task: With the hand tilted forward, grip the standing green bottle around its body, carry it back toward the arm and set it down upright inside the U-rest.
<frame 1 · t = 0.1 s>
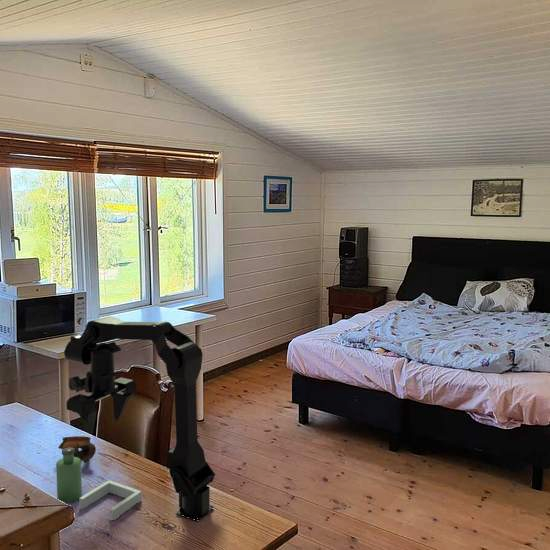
hand: (103, 426, 141), 15 cm above the table, tool pointing down, fingers open, 9 cm apart
u rest: (109, 505, 132), on the table
pottery mug: (78, 462, 153), on the table
bottle: (69, 496, 135), on the table
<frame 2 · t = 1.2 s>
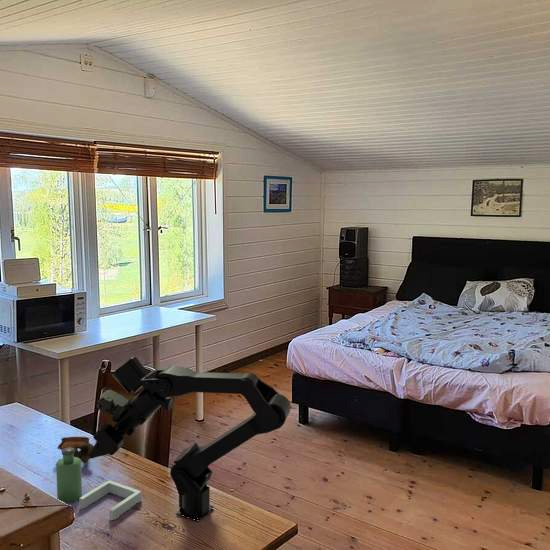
hand: (98, 447, 132), 13 cm above the table, tool tilted 45°, fingers open, 9 cm apart
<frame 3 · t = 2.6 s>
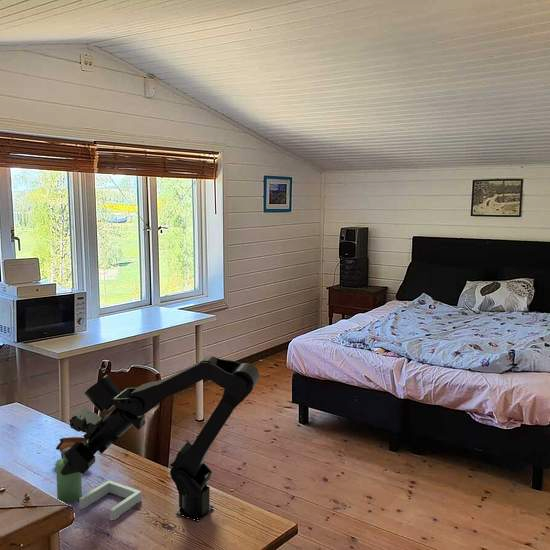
hand: (71, 464, 134), 9 cm above the table, tool tilted 45°, fingers open, 9 cm apart
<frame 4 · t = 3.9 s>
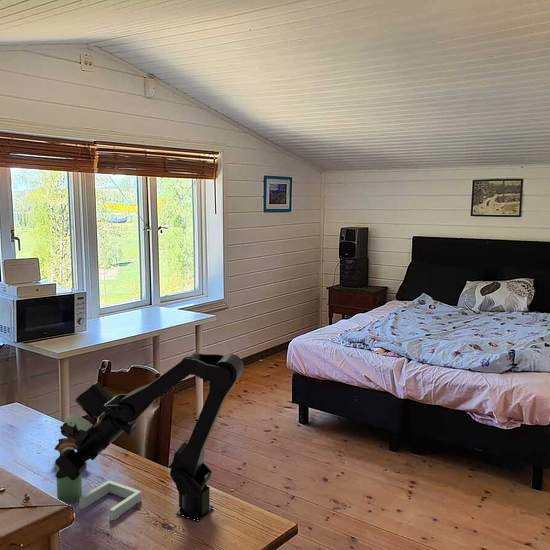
hand: (63, 470, 135), 7 cm above the table, tool tilted 45°, fingers closed on bottle, 6 cm apart
bottle: (69, 496, 135), on the table, touching gripper
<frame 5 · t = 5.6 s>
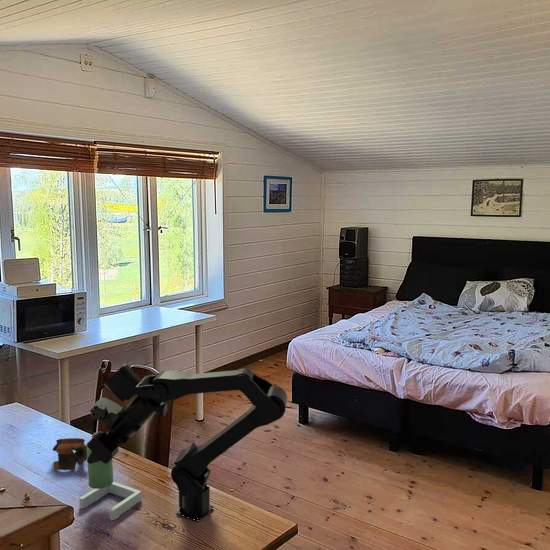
hand: (94, 456, 131), 12 cm above the table, tool tilted 45°, fingers closed on bottle, 6 cm apart
bottle: (101, 482, 132), point 5 cm above the table, touching gripper
when the fingers open (8 cm above the table, at t = 7.3 s): bottle drops 2 cm, on the table.
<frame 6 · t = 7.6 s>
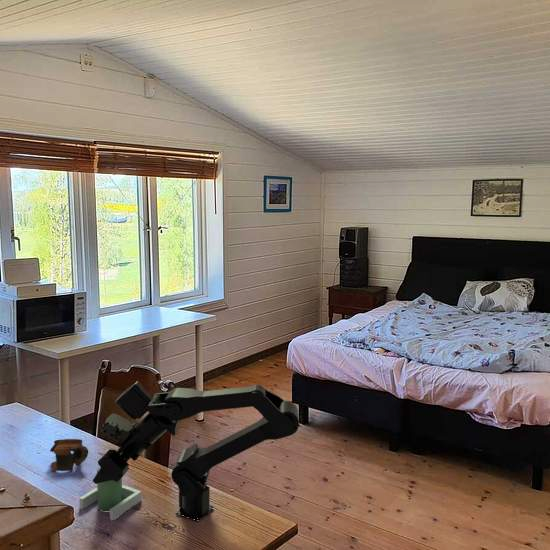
hand: (103, 472, 131), 8 cm above the table, tool tilted 45°, fingers open, 9 cm apart
bottle: (110, 505, 132), on the table
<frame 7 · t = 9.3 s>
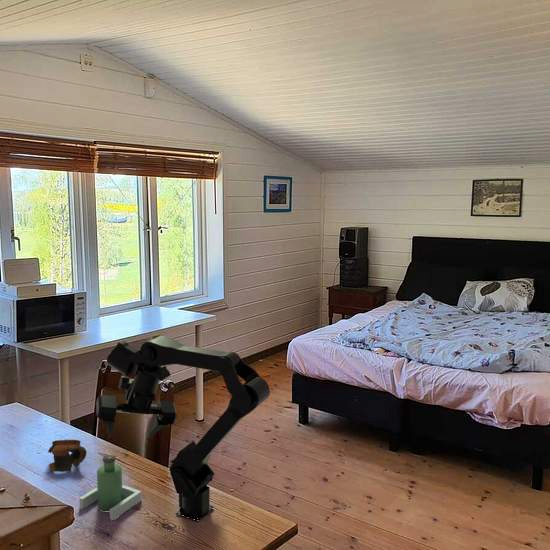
hand: (128, 437, 136), 14 cm above the table, tool tilted 20°, fingers open, 9 cm apart
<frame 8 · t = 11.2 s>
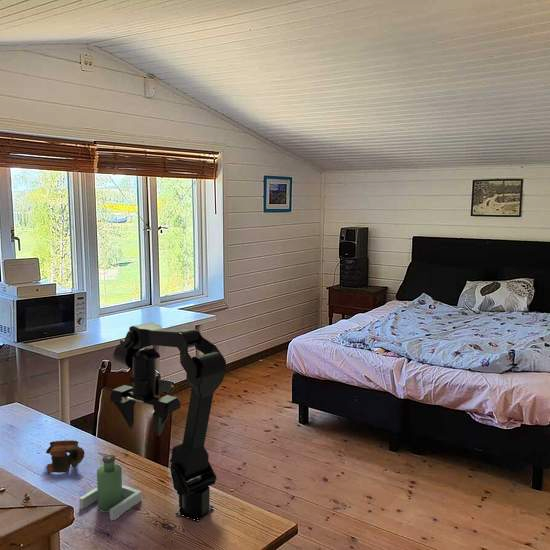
hand: (145, 431, 143), 13 cm above the table, tool pointing down, fingers open, 9 cm apart
at the end: bottle inside the target area on the u rest (0.4 cm from its centre), point 0.0 cm above the u rest's base; bottle tilted 0°; the gripper is holding nothing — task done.
